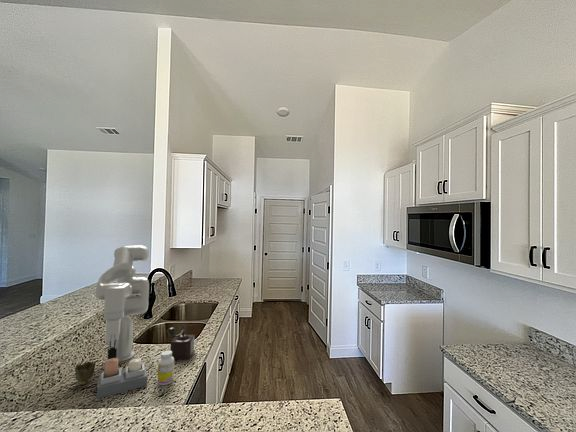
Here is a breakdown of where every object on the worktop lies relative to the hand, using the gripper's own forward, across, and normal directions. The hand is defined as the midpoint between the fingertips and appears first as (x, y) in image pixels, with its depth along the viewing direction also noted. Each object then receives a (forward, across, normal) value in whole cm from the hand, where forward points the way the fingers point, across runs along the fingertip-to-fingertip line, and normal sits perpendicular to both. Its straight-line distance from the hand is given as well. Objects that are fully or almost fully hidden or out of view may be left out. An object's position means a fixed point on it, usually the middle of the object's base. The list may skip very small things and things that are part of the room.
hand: (112, 357), depth 117 cm
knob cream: (+9, 0, +9) cm, 12 cm away
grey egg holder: (+13, 0, +4) cm, 14 cm away
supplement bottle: (+13, +7, +21) cm, 26 cm away
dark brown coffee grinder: (+13, -14, +31) cm, 36 cm away
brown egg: (+6, 0, 0) cm, 6 cm away
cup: (+13, -10, -10) cm, 19 cm away
